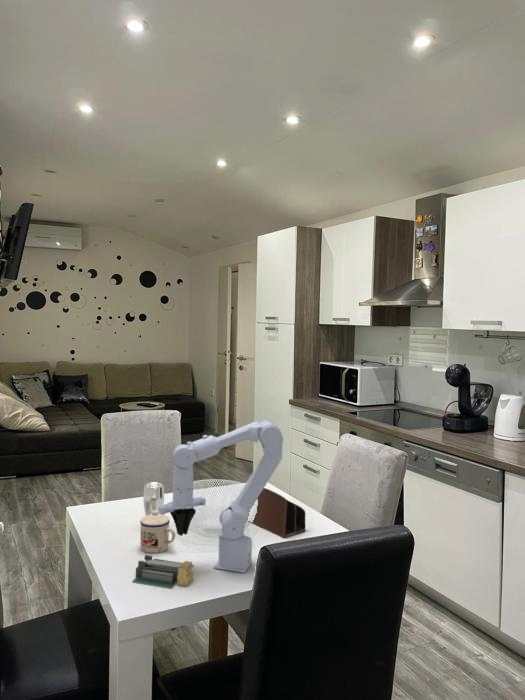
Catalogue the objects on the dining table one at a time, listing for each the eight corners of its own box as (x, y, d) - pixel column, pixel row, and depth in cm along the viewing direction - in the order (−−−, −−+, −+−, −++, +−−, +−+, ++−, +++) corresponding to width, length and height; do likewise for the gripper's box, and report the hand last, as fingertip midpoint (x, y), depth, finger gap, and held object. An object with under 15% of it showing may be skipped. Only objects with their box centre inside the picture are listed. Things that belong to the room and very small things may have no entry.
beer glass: (165, 525, 193) (166, 482, 192) (160, 532, 186) (161, 488, 185) (146, 523, 194) (147, 481, 193) (140, 531, 187) (140, 487, 186)
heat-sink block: (187, 570, 158) (187, 560, 158) (171, 588, 148) (171, 577, 148) (150, 565, 161) (150, 555, 161) (132, 582, 151) (132, 571, 151)
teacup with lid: (133, 550, 172) (134, 513, 171) (151, 539, 180) (151, 504, 179) (165, 558, 167) (166, 519, 166) (182, 547, 175) (183, 510, 174)
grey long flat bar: (194, 567, 153) (194, 564, 153) (190, 571, 151) (190, 567, 151) (145, 561, 157) (145, 558, 157) (141, 565, 155) (141, 561, 154)
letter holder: (284, 539, 184) (285, 497, 183) (246, 521, 199) (247, 482, 198) (305, 532, 190) (307, 491, 190) (267, 515, 206) (269, 478, 205)
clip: (193, 579, 154) (193, 562, 153) (187, 586, 149) (187, 569, 149) (183, 577, 154) (183, 560, 154) (176, 585, 150) (177, 567, 150)
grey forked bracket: (152, 571, 158) (152, 555, 158) (144, 578, 153) (144, 562, 153) (143, 569, 158) (143, 554, 158) (135, 576, 154) (135, 561, 154)
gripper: (168, 495, 152) (167, 544, 152) (211, 486, 161) (210, 532, 162) (155, 489, 157) (154, 536, 158) (198, 480, 166) (197, 525, 167)
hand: (182, 533), depth 160 cm, fingers closed
